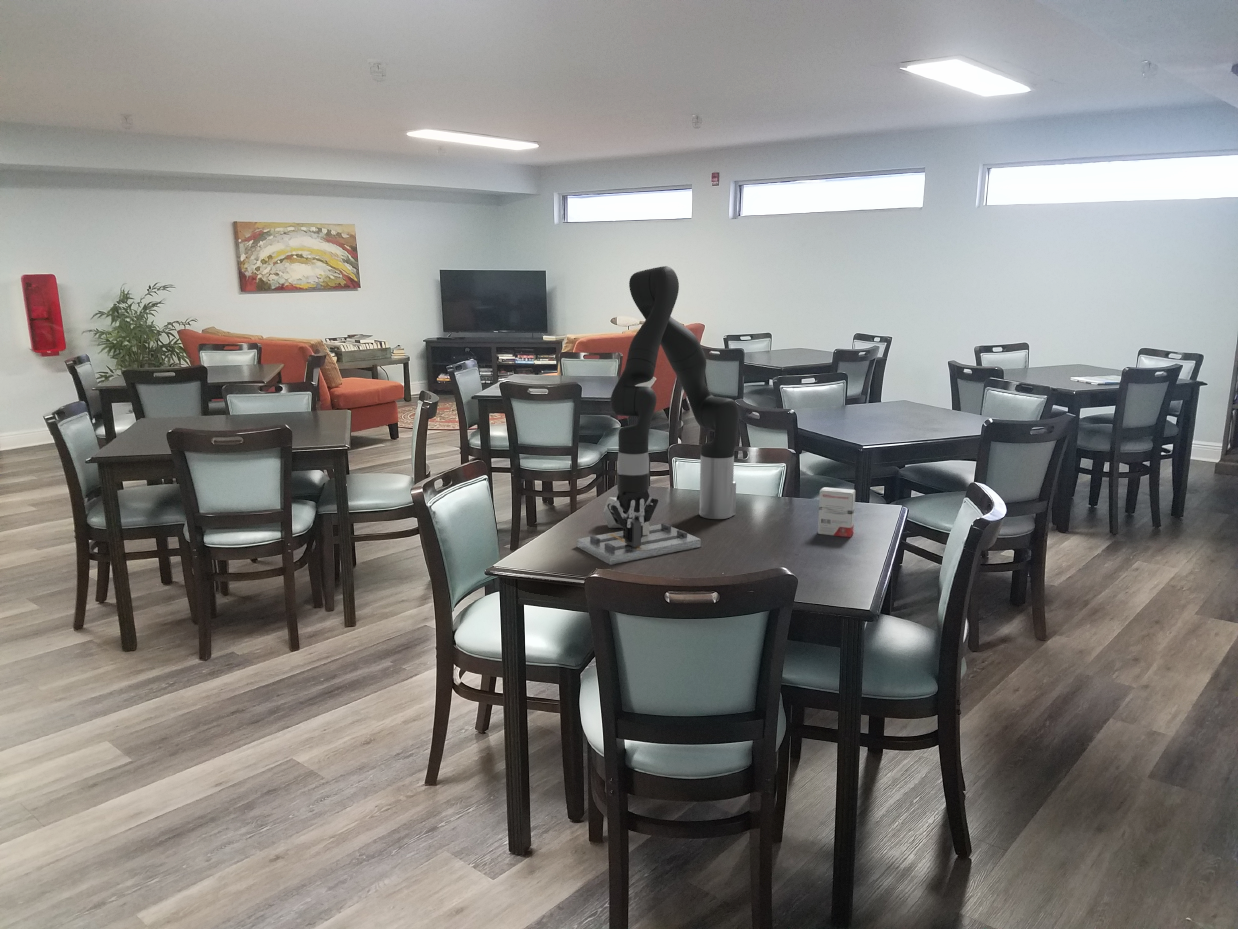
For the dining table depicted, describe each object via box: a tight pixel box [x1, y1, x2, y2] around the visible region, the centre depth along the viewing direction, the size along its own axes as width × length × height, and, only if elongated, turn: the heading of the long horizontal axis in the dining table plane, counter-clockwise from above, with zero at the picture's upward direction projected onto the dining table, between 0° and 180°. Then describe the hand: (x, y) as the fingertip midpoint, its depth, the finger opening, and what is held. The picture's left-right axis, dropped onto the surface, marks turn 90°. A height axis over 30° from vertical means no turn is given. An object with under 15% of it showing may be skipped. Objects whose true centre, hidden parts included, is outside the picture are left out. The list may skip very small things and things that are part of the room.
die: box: [602, 496, 623, 529], centre depth 225 cm, size 8×9×10 cm
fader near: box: [625, 517, 641, 547], centre depth 202 cm, size 2×4×6 cm, turn 31°
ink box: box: [817, 486, 856, 538], centre depth 218 cm, size 9×5×12 cm, turn 65°
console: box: [576, 522, 702, 566], centre depth 208 cm, size 26×16×3 cm, turn 121°
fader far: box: [643, 521, 650, 535], centre depth 211 cm, size 2×4×6 cm, turn 31°
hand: (632, 540), depth 202 cm, fingers closed on fader near, 2 cm apart
